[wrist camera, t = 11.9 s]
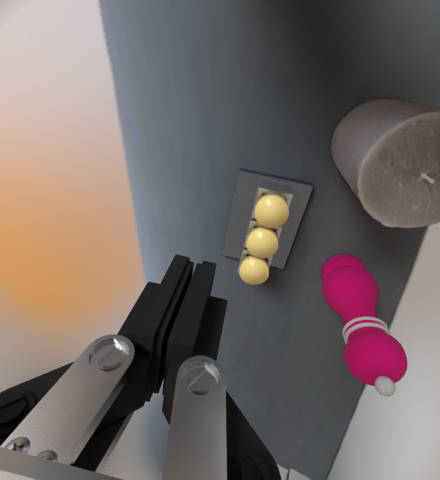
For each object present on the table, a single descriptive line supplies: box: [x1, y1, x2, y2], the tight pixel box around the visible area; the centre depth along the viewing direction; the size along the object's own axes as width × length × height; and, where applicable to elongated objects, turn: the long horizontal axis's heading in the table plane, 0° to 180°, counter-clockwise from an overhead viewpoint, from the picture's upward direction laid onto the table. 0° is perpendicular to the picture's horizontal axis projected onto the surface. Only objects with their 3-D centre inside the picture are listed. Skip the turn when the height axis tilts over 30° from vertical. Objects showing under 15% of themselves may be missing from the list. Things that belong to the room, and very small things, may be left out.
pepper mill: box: [321, 254, 407, 396], centre depth 35 cm, size 7×7×20 cm
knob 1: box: [255, 193, 289, 228], centre depth 35 cm, size 4×4×6 cm
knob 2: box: [247, 226, 278, 258], centre depth 38 cm, size 4×4×6 cm
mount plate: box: [222, 168, 313, 273], centre depth 39 cm, size 14×10×5 cm
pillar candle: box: [331, 98, 440, 228], centre depth 28 cm, size 10×10×15 cm
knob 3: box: [239, 254, 269, 285], centre depth 40 cm, size 4×4×6 cm
